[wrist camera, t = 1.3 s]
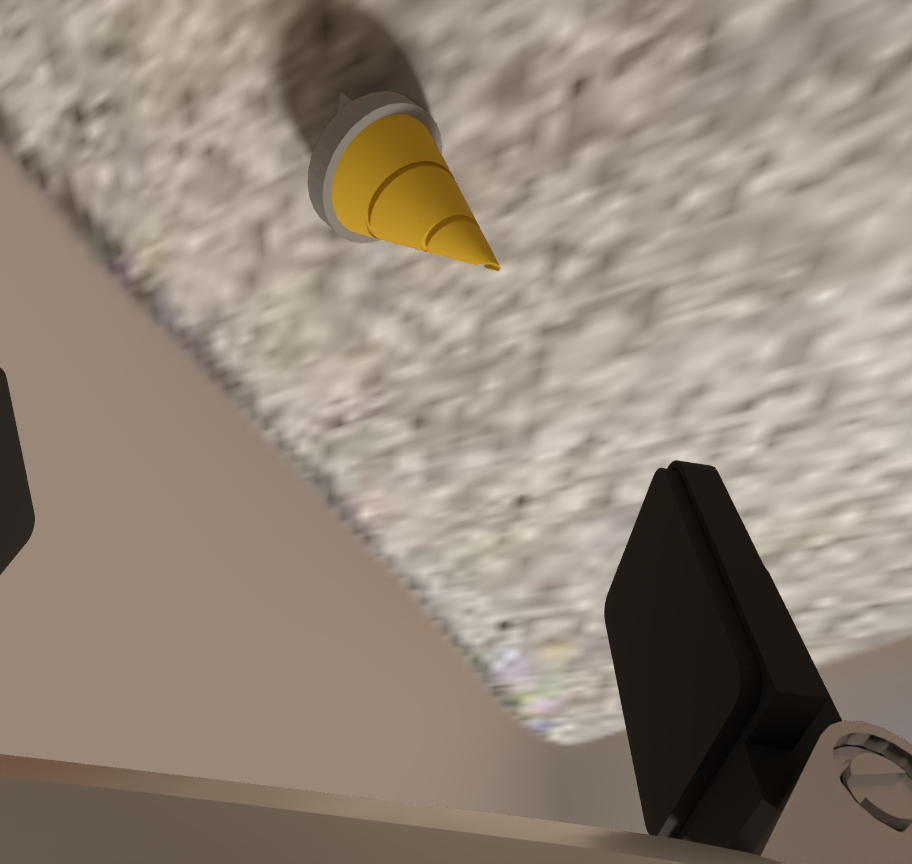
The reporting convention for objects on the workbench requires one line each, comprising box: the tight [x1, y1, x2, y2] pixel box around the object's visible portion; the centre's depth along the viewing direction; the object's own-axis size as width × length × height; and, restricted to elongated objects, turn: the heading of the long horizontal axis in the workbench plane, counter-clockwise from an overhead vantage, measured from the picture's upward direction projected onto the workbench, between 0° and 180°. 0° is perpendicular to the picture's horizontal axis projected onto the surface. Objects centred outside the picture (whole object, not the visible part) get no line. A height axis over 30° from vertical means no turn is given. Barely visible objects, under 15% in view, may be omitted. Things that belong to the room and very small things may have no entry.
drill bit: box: [308, 91, 500, 271], centre depth 25 cm, size 5×5×10 cm
